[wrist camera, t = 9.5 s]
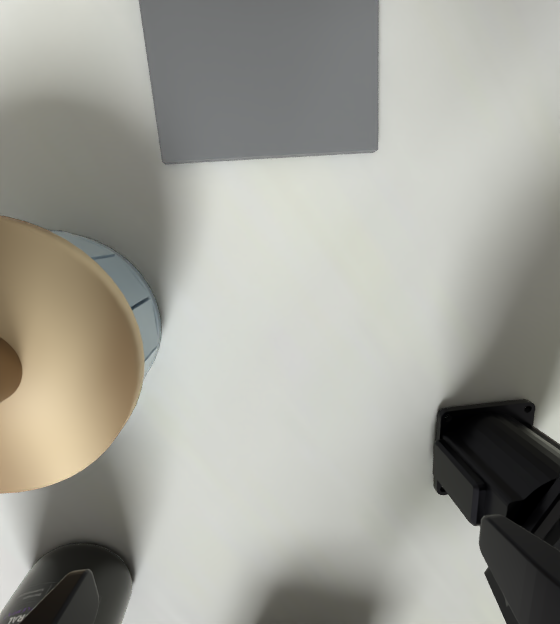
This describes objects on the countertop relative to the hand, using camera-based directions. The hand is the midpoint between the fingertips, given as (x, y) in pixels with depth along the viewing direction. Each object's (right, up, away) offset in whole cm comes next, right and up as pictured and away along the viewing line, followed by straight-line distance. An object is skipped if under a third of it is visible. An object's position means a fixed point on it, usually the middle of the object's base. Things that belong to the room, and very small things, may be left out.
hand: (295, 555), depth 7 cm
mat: (-1, +19, +8) cm, 21 cm away
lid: (-12, +4, +6) cm, 14 cm away
